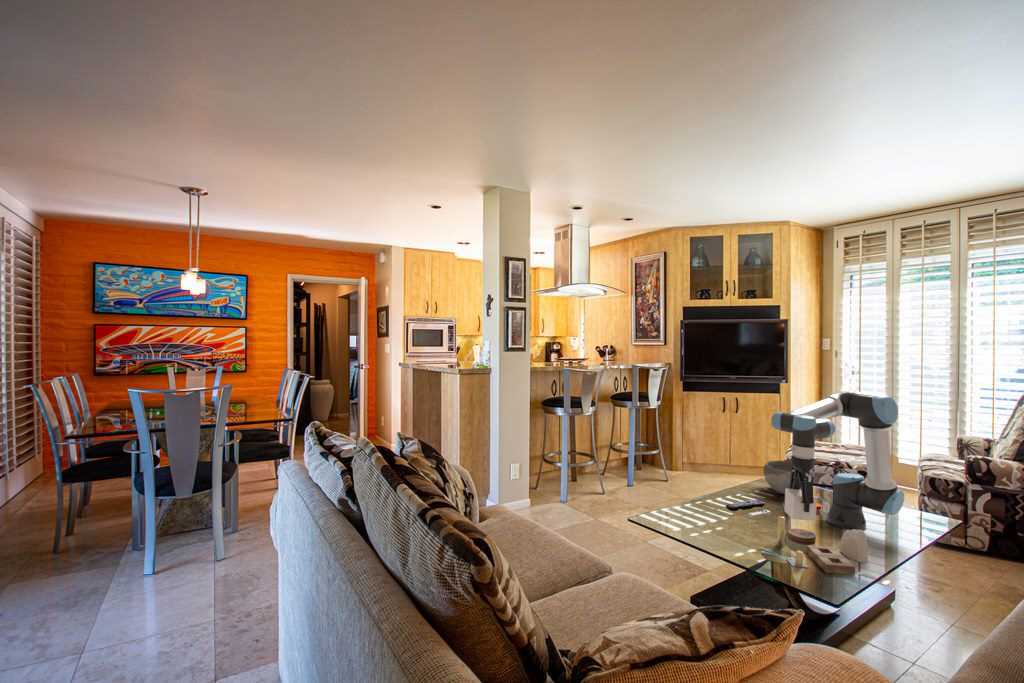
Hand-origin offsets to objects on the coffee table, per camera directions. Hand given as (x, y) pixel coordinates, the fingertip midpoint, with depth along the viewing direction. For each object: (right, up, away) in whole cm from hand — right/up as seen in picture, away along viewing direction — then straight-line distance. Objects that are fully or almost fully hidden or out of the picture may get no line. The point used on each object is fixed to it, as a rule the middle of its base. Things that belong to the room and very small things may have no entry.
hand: (799, 515), depth 191 cm
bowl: (+41, -17, +82) cm, 93 cm away
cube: (0, 0, 0) cm, 0 cm away
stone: (+26, -20, +7) cm, 33 cm away
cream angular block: (0, -19, +1) cm, 19 cm away
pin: (+2, -18, +17) cm, 25 cm away
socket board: (+13, -19, +2) cm, 23 cm away
